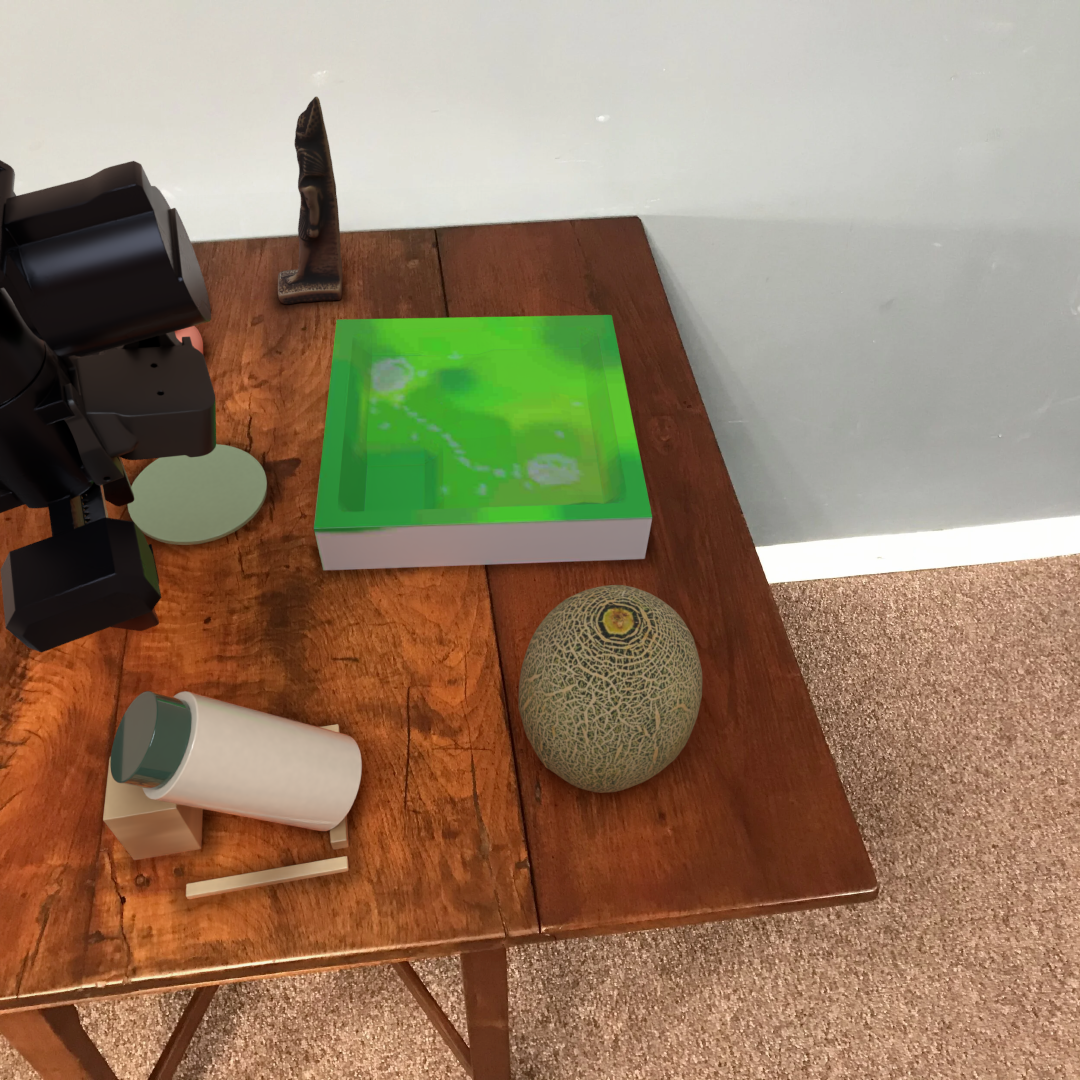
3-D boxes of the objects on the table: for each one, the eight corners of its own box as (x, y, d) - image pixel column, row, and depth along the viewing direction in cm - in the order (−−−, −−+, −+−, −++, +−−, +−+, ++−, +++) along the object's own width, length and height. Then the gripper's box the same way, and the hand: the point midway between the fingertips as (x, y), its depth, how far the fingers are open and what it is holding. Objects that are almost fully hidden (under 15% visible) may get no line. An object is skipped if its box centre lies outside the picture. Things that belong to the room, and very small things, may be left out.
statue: (279, 283, 96) (238, 85, 81) (349, 278, 97) (322, 82, 82) (279, 308, 93) (237, 108, 78) (351, 302, 94) (323, 104, 79)
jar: (159, 873, 57) (81, 778, 47) (165, 783, 61) (94, 677, 51) (374, 834, 59) (342, 734, 49) (367, 749, 62) (336, 639, 53)
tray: (606, 358, 90) (611, 314, 86) (644, 559, 74) (652, 517, 70) (343, 363, 88) (336, 319, 84) (323, 571, 72) (313, 528, 68)
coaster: (143, 563, 72) (141, 559, 72) (117, 470, 78) (115, 466, 78) (284, 519, 75) (283, 515, 75) (248, 433, 82) (247, 429, 81)
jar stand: (130, 910, 55) (96, 872, 51) (142, 758, 62) (114, 712, 57) (350, 871, 57) (337, 831, 53) (341, 727, 64) (328, 680, 59)
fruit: (531, 662, 67) (538, 525, 56) (687, 685, 67) (726, 552, 55) (503, 810, 60) (504, 688, 49) (677, 839, 59) (720, 721, 48)
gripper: (200, 457, 37) (312, 640, 50) (132, 194, 47) (240, 403, 60) (-89, 559, 35) (105, 721, 48) (-95, 264, 45) (66, 464, 58)
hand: (137, 561), depth 54 cm, fingers open, 9 cm apart
